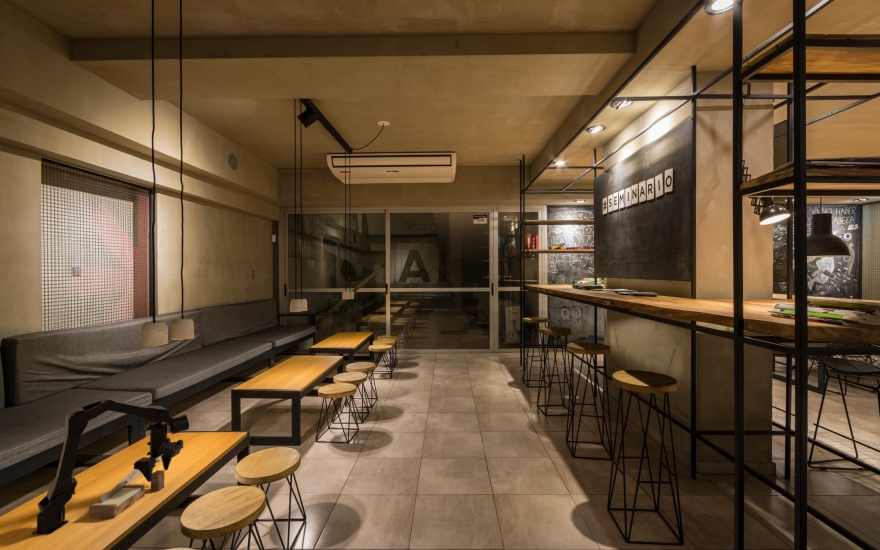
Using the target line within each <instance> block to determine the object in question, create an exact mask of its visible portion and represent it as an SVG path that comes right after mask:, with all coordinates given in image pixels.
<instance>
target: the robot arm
mask: <svg viewBox="0 0 880 550" xmlns="http://www.w3.org/2000/svg"><path fill="white" fill-rule="evenodd" d="M108 411H110V412H115V413H121V414H127V415H132V416H137V417H141V418H144V419H146V420H149V421H151V422H153V423H151V422H148V423H147V424H145V426H144V427H143V430H145V431H146V432H148V431H149V441H148V442H146V443H147V445H146V446H149V451H148V452H146V456H148V457H146V456H144V457H141V458H139V459H138V460H136V461H135V462H134V463H133V470H134V469H137V470H140V472H141V473H140V474H142V476H143V477H144V478H145V480H146V481H147V483H151V480H152V473H154V471H153V470H154V469H155V467H156V466H157V464H156V463H157V462H156V459H157V458H159V457H160V456H161V462H162V466H163V470H165V471H168V470H169V468H170V465H171V461H172V459H173V458H174V457H176V456H177V455H179V454H180V453H181V450H182V449H183V448H184V440H183V439H178V440H177V441H171V438H170V437H168V433H170V434H171V435H175V434H178V433H182V432H185V431H188V430H189V429H190V422H189V419H188V415H187V414H181V415H179V416H175V417H174V416H171V415H170V411H169V410H168V409H167V408H165V407H163V406H161V405H141V404H135V403H132V402H126V401H121V400H118V399H113V398H110V397H104V398H103V399H100V400H98V401H96V402H91V403H88V404H86V405H83V406H80V407H79V406H77V407H74V408H72V409H69V411H68V412H66V413H65V416H64V420H65V421H64V427H65V428H64V429H65V437H64V442H63V445H62V450H61V455H60V459H59V463H58V467H57V470H56V476H55V478H54V479H52V482H51V483H50V486H49V487H48V490H47V493H46V495H45V496H44V497H43V498H42V499H41V500H40V501H38V503H37V507H38V509H39V513H38V514H37V516H36V529H35V530H33V531H32V532H31V534H32V535H43V534H44V535H45V534H53V533H54V532H55V531H58V529H60V528H62V527H63V526H65V525H66V524H68V523H69V519H66V504H67V503H68V502H70V501H71V499H72V498H73V495H76V488H77V486H78V480H77V479H76V478H75V477H74V476H73V472H74V468H75V464H76V460H77V454H78V451H79V446H80V441H81V438H82V435H83V433H84V432H85V430H86V428H87V427H88V424H89V421H91V420H93V419H94V420H95V418H97V417H100V416H101V415H102V414H104V413H106V412H108ZM149 456H151V457H149Z"/></svg>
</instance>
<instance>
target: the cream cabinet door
mask: <svg viewBox="0 0 880 550" xmlns="http://www.w3.org/2000/svg"><path fill="white" fill-rule="evenodd" d="M140 490H141V488H122V486H117V487H115V488H114V489H112V490H111V491H109V492H107V493H105V494H104V495H103V496H100V497H99V498H98V501H97V502H96V503H94V504H93V505H109V504H117V506H119V505H120V504H121V503H123V502H124V501H126V500H127V499H129V498H130V497H131V496H133V495H134V494H136V493H137V492H139V491H140Z"/></svg>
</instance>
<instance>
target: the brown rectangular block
mask: <svg viewBox="0 0 880 550" xmlns="http://www.w3.org/2000/svg"><path fill="white" fill-rule="evenodd" d="M165 471H166V470H164V469H163V470H161V469H160V470H155V471H153V472H152V480H151V482H150V492H151V491H152V493H153V491H159V492H160V491H161V490H163V489H164V488H165V473H166V472H165Z"/></svg>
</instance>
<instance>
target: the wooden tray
mask: <svg viewBox="0 0 880 550" xmlns="http://www.w3.org/2000/svg"><path fill="white" fill-rule="evenodd" d="M122 488H141V490H140V491H139V492H137V493H136V494H134V495H133V496H131V497H130V498H129V499H127V500H126V501H124V502H123V503H121V504H120V505H119V506H117V504H109V505H94V504H91V505H89V506H88V519H90V520H91V519H97V520H99V519H115V518H116V516H117V517H118V516H119V515H121V514H122V513H123V512H125V511H126V510H128V509H129V508H130V507H131V506H133V505H135V502H136V503H137V502H138V501H140V500H142V499H143V498H144V497H145V485H143V484H135V485H132V484H131V485H130V484H128V485H122ZM124 510H125V511H124ZM120 513H121V514H120Z"/></svg>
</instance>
